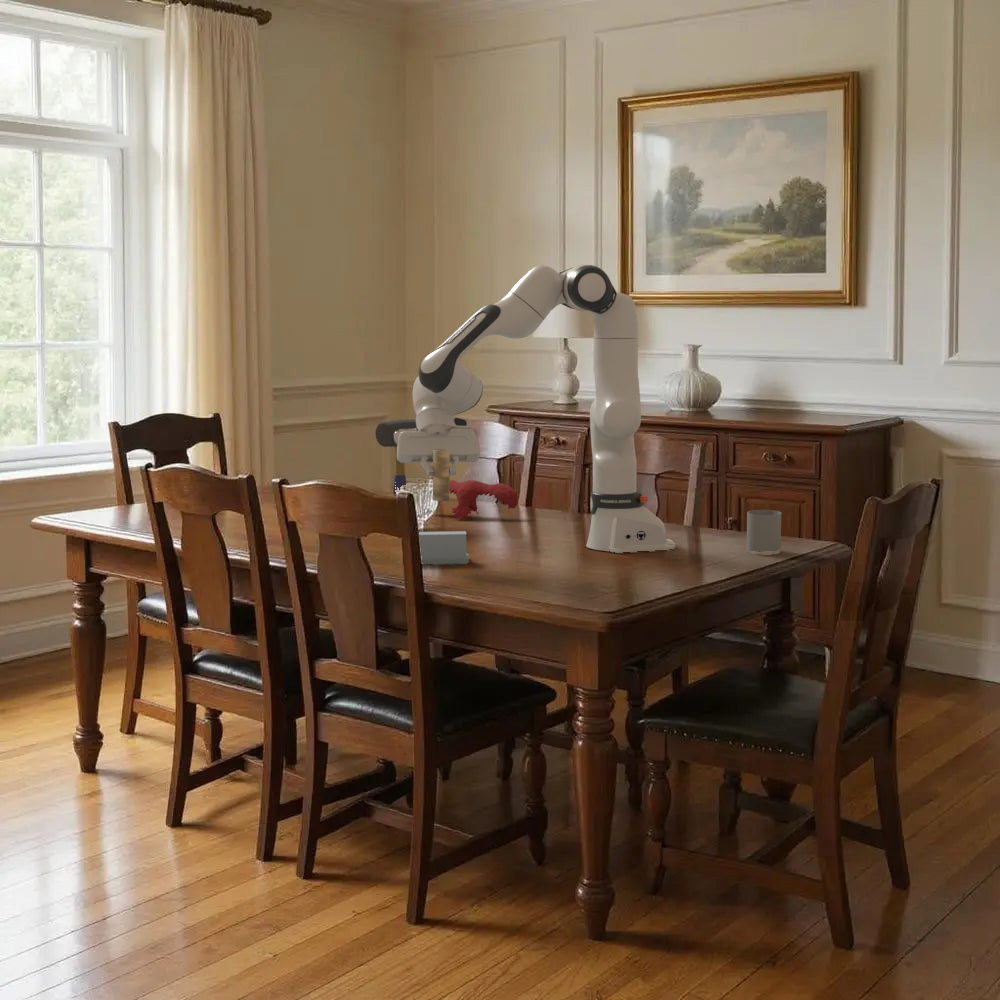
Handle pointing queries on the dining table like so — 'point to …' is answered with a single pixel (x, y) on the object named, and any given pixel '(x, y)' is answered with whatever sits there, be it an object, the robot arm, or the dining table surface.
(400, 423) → the rubber mallet
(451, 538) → the gray rectangular block
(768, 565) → the dining table surface
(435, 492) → the dowel
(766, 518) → the cup
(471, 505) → the red irregular arched piece
